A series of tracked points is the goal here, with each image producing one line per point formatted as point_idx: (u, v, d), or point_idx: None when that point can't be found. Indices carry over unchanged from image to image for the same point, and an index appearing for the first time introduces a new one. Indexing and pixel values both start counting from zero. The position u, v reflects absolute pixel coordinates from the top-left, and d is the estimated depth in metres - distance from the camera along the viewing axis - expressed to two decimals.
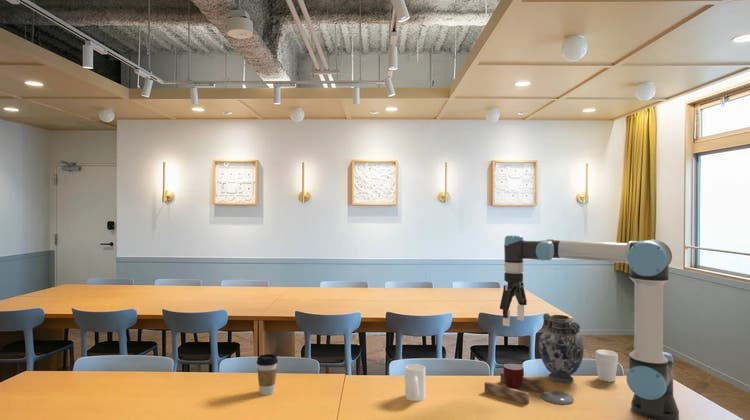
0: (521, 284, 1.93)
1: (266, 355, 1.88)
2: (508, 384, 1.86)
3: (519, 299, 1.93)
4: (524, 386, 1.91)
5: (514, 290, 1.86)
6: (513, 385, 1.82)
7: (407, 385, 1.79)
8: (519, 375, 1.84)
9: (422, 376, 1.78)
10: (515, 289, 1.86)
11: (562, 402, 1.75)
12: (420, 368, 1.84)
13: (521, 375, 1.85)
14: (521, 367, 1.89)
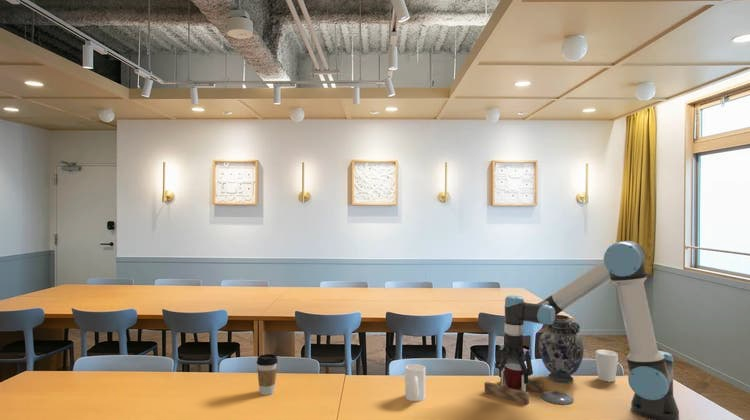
0: (526, 352, 1.83)
1: (266, 355, 1.88)
2: (508, 384, 1.86)
3: None
4: None
5: (506, 351, 1.87)
6: (514, 385, 1.82)
7: (407, 385, 1.79)
8: (520, 375, 1.84)
9: (422, 376, 1.78)
10: (506, 350, 1.87)
11: (562, 402, 1.75)
12: (420, 368, 1.84)
13: None
14: None
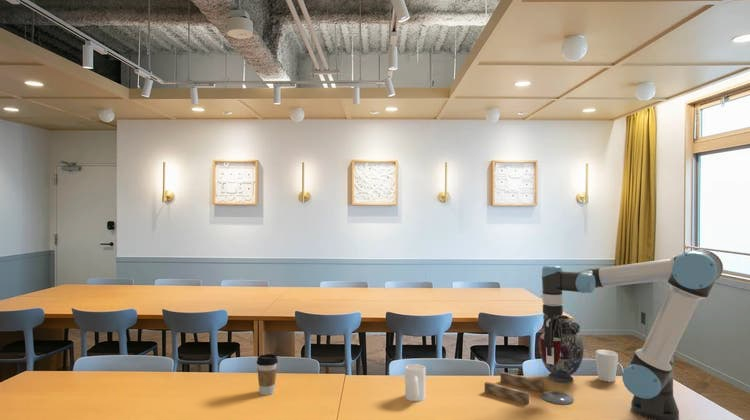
0: (559, 318, 1.85)
1: (266, 355, 1.88)
2: (558, 357, 1.79)
3: (556, 335, 1.84)
4: (524, 386, 1.91)
5: (555, 324, 1.78)
6: (567, 354, 1.80)
7: (407, 385, 1.79)
8: None
9: (422, 376, 1.78)
10: (556, 323, 1.78)
11: (562, 402, 1.75)
12: (420, 368, 1.84)
13: None
14: None
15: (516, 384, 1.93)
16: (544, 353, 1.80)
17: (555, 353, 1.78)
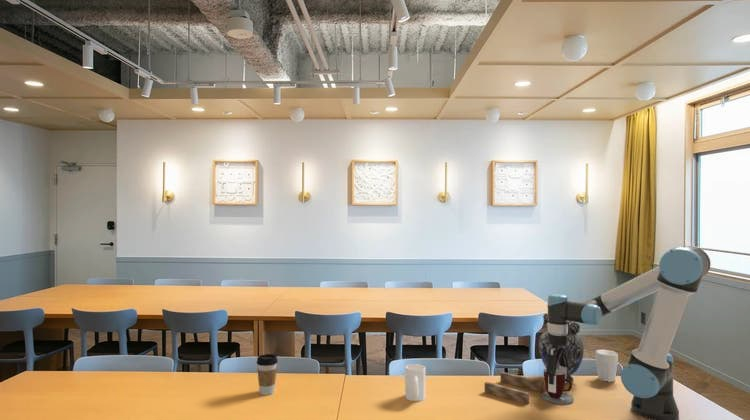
0: (564, 345, 1.84)
1: (266, 355, 1.88)
2: (562, 390, 1.78)
3: (561, 361, 1.84)
4: (524, 386, 1.91)
5: (559, 353, 1.78)
6: (571, 387, 1.79)
7: (407, 385, 1.79)
8: None
9: (422, 376, 1.78)
10: (560, 352, 1.78)
11: (562, 402, 1.75)
12: (420, 368, 1.84)
13: None
14: None
15: (516, 384, 1.93)
16: None
17: (559, 387, 1.77)
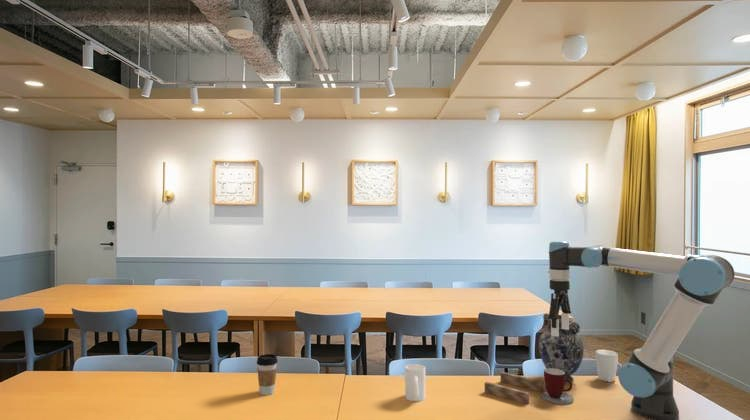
0: (565, 292, 1.86)
1: (266, 355, 1.88)
2: (562, 390, 1.78)
3: (564, 307, 1.86)
4: (524, 386, 1.91)
5: (561, 298, 1.79)
6: (571, 387, 1.79)
7: (407, 385, 1.79)
8: None
9: (422, 376, 1.78)
10: (562, 297, 1.79)
11: (562, 402, 1.75)
12: (420, 368, 1.84)
13: None
14: (548, 370, 1.85)
15: (516, 384, 1.93)
16: (548, 386, 1.79)
17: (559, 387, 1.77)
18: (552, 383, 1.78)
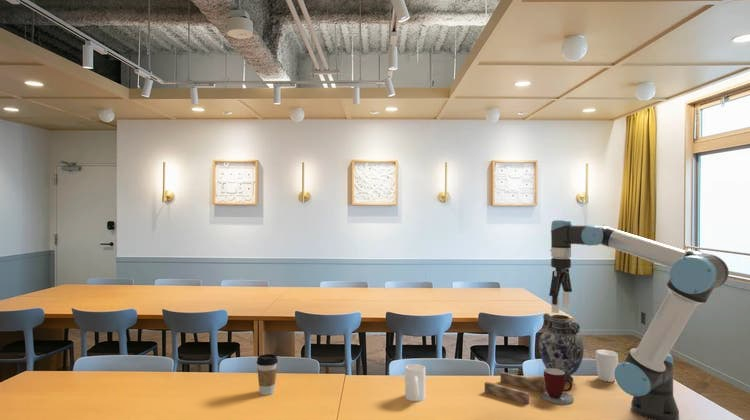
0: (567, 270, 1.88)
1: (266, 355, 1.88)
2: (562, 390, 1.78)
3: (565, 286, 1.88)
4: (524, 386, 1.91)
5: (562, 276, 1.81)
6: (571, 387, 1.79)
7: (407, 385, 1.79)
8: None
9: (422, 376, 1.78)
10: (563, 275, 1.81)
11: (562, 402, 1.75)
12: (420, 368, 1.84)
13: None
14: (548, 370, 1.85)
15: (516, 384, 1.93)
16: (548, 386, 1.79)
17: (559, 387, 1.77)
18: (552, 383, 1.78)
